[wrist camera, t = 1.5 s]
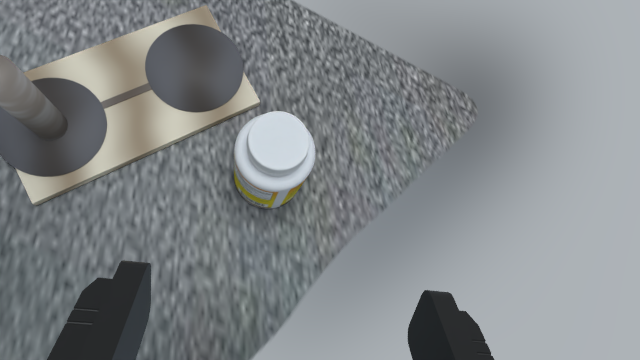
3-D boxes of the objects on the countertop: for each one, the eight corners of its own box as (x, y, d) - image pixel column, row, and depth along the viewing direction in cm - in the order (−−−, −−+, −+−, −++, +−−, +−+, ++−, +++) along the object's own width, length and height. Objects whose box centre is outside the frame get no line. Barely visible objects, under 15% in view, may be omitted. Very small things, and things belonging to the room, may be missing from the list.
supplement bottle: (294, 143, 40) (316, 96, 30) (303, 206, 39) (329, 178, 29) (229, 148, 39) (230, 101, 29) (236, 213, 38) (239, 187, 28)
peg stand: (30, 208, 35) (-46, 177, 25) (-24, 96, 36) (-116, 26, 26) (264, 102, 40) (275, 44, 31) (211, 8, 41) (206, -77, 32)
